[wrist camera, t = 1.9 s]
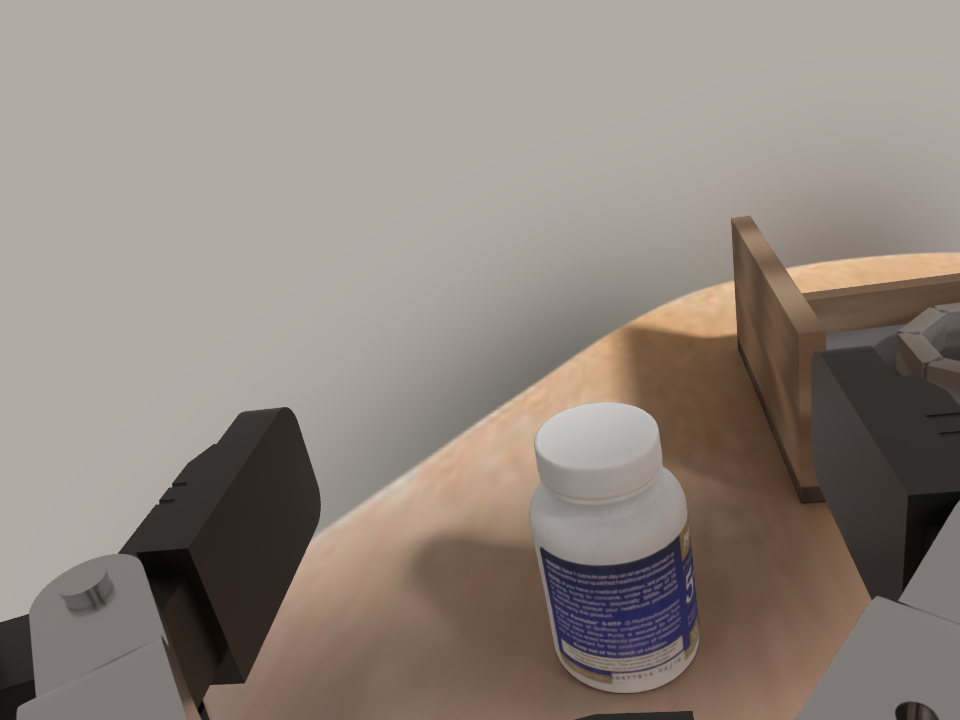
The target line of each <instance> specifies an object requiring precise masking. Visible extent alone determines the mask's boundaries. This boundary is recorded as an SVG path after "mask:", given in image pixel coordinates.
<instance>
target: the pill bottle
mask: <svg viewBox="0 0 960 720" xmlns="http://www.w3.org/2000/svg"><path fill="white" fill-rule="evenodd" d="M534 446H535V453H536V460H537V467H538V472H539V475H540V478H541V483H540V484H539V486H538V487H537V489H536V490H535V492H534V494H533V497H532V499H531V503H530V510H529V518H530V525H531V530H532V535H533V540H534V545H535V549H536V554H537V559H538V564H539V568H540V573H541V578H542V582H543V588H544V593H545V598H546V603H547V608H548V613H549V619H550V625H551V630H552V635H553V641H554V646H555V650H556V653H557V655H558V658H559V659H560V661H561V663H562V664H563V666H564V667H565V668H566V669H567V670H568V672H570V673H571V674H572V675H573V676H574V677H575V678H577V679H578V680H580V681H581V682H583V683H585V684H587V685H589V686H591V687H594V688H596V689H599V690H603V691H608V692H614V693H637V692H643V691H647V690H651V689H654V688H657V687H660V686H662V685H664V684H666V683H668V682H670V681H672V680H673V679H675V678H676V677H677V676H679V675H680V674H681V673H682V672H683V671H684V670H685V669H686V668H687V667H688V665H689V664H690V663H691V661H692V660H693V658H694V656H695V654H696V651H697V648H698V644H699V623H698V611H697V601H696V591H695V581H694V568H693V558H692V548H691V538H690V529H689V519H688V509H687V503H686V498H685V494H684V491H683V489H682V487H681V485H680V483H679V481H678V480H677V479H676V478H675V476H674V475H673V474H672V473H671V472H670V471H669V470H667V469H666V468H665V467H663V466H662V465H663V463H662V450H661V443H660V436H659V430H658V426H657V423H656V421H655V420H654V418H653V417H652V416H651V415H650V414H648V413H647V412H645V411H644V410H642V409H640V408H638V407H635V406H631V405H627V404H622V403H614V402H600V403H591V404H585V405H580V406H576V407H573V408H570V409H567V410H565V411H562V412H560V413H558V414H557V415H555V416H553V417H551V418H550V419H548V420H547V421H546V422H545V423H544V424H543V425H542V426H541V427H540V429H539V430H538V432H537V433H536V436H535V442H534Z"/></svg>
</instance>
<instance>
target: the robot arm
mask: <svg viewBox="0 0 960 720" xmlns="http://www.w3.org/2000/svg"><path fill="white" fill-rule="evenodd" d="M811 447H812V458H813V464H814V470H815V474H816V478H817V481H818V484H819V487H820V489H821V491H822V493H823V495H824V498H825V500H826V502H827V504H828V506H829V508H830V511H831V513H832V515H833V517H834V519H835V521H836V524H837V526H838V528H839V530H840V532H841V534H842V537H843V539H844V541H845V543H846V545H847V547H848V549H849V552H850V554H851V556H852V558H853V560H854V562H855V565H856V567H857V569H858V571H859V573H860V575H861V578H862V580H863V582H864V584H865V586H866V588H867V591H868V593H869V595H870V597H871V599H872V601H871V602H870V603H869V605H868V606H867V608H866V609H865V611H864V612H863V614H862V615H861V617H860V618H859V620H858V622H857V623H856V625H855V626H854V628H853V629H852V631H851V633H850V634H849V636H848V637H847V639H846V640H845V642H844V644H843V645H842V647H841V648H840V650H839V651H838V653H837V655H836V656H835V658H834V659H833V661H832V662H831V664H830V666H829V667H828V669H827V670H826V672H825V673H824V675H823V677H822V678H821V680H820V681H819V683H818V684H817V686H816V688H815V689H814V691H813V692H812V694H811V695H810V697H809V698H808V700H807V702H806V703H805V705H804V706H803V708H802V709H801V711H800V713H799V714H798V716H797V717H796V719H795V720H960V405H959V404H958V403H957V402H956V400H955V399H954V398H953V397H952V396H951V395H950V393H949V392H948V391H946V390H945V389H943V388H941V387H939V386H937V385H935V384H933V383H931V382H929V381H927V380H925V379H923V378H921V377H919V376H917V375H907V376H897V377H896V376H895V375H894V374H893V373H892V371H891V370H890V369H889V367H888V366H887V365H886V363H885V362H884V361H883V360H882V358H881V357H880V356H879V354H878V353H877V352H876V350H875V349H874V348H873V347H872V346H870V345H867V346H857V347H848V348H839V349H829V350H820V351H815V352H814V354H813V356H812V363H811ZM172 485H173V486H172V488H168V490H167V491H166V492H165V494H164V495H163V496H162V498H161V499H160V500H159V505H155V507H154V508H153V509H152V510H151V512H150V513H149V514H148V515H147V517H146V518H145V519H144V521H143V522H142V523H141V524H140V526H139V527H138V528H137V530H136V531H135V532H134V534H133V535H132V536H131V537H130V539H129V540H128V541H127V542H126V544H125V545H124V546H123V548H122V549H121V550H120V551H119V553H118V554H113V555H107V556H102V557H98V558H95V559H91V560H89V561H86V562H84V563H81V564H79V565H77V566H75V567H73V568H72V569H70V570H68V571H66V572H64V573H63V574H62V575H60V576H59V577H57V578H56V579H54V580H53V581H52V582H51V583H49V584H48V585H47V586H46V587H45V588H44V589H43V590H42V591H41V592H40V594H39V595H38V596H37V597H36V599H35V600H34V602H33V604H32V606H31V608H30V613H29V614H27V615H24V616H21V617H17V618H14V619H10V620H7V621H4V622H0V720H212V717H211V715H210V712H209V710H208V708H207V706H206V703H205V701H204V699H203V698H204V696H205V694H206V692H207V690H208V688H209V686H210V685H219V684H242V683H245V682H246V679H247V677H248V675H249V673H250V671H251V669H252V666H253V664H254V662H255V660H256V658H257V656H258V653H259V651H260V649H261V647H262V645H263V643H264V640H265V638H266V636H267V634H268V632H269V630H270V627H271V625H272V623H273V621H274V619H275V617H276V614H277V612H278V610H279V608H280V606H281V604H282V601H283V599H284V597H285V595H286V593H287V591H288V588H289V586H290V584H291V582H292V580H293V577H294V575H295V573H296V571H297V569H298V567H299V564H300V562H301V560H302V558H303V556H304V554H305V551H306V549H307V547H308V545H309V543H310V541H311V538H312V536H313V534H314V532H315V530H316V527H317V525H318V522H319V518H320V510H321V508H320V507H321V502H320V492H319V487H318V484H317V481H316V478H315V474H314V471H313V468H312V465H311V462H310V459H309V455H308V452H307V449H306V446H305V443H304V440H303V437H302V433H301V430H300V427H299V424H298V421H297V418H296V417H295V414H294V413H293V412H292V410H291V409H289V408H287V407H282V408H274V409H264V410H255V411H245V412H242V413H240V414H239V415H238V416H237V418H236V419H235V420H234V422H233V423H232V424H231V426H230V427H229V428H228V430H227V431H226V432H225V434H224V435H223V436H222V438H221V439H220V440H219V442H218V443H217V444H213V445H212V446H211V447H209V448H208V449H207V450H205V451H204V452H203V453H201V454H200V455H198V456H197V457H196V458H195V459H193V460H192V461H190V462H189V463H188V464H187V465H186V466H185V468H184V469H183V470H182V472H181V473H180V474H179V475H178V477H177V478H176V479H175V481H174V482H173V483H172ZM576 720H694V718H693V711H681V712H651V713H622V714H595V715H591V716H587V717H583V718H579V719H576Z"/></svg>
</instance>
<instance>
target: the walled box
mask: <svg viewBox="0 0 960 720" xmlns="http://www.w3.org/2000/svg"><path fill="white" fill-rule="evenodd" d="M731 225H732V244H733V262H734V281H735V299H736V318H737V336H738V349H739V352H740V354H741V357H742V359H743V361H744V364H745V366H746V369H747V371H748V374H749V376H750V379H751V381H752V383H753V386H754V388H755V391H756V393H757V396H758V398H759V401H760V403H761V405H762V408H763V410H764V413H765V415H766V418H767V420H768V423H769V425H770V427H771V430H772V432H773V435H774V437H775V440H776V442H777V445H778V447H779V449H780V452H781V454H782V457H783V459H784V462H785V464H786V467H787V469H788V471H789V474H790V476H791V479H792V481H793V484H794V486H795V488H796V491H797V493H798V496H799V498H800V501H801V503H807V502H819V501H826V500H825V498H824V495H823V493H822V491H821V489H820V487H819V484H818V481H817V478H816V474H815V470H814V464H813V458H812V447H811V363H812V356H813V354H814V352H815V351H820V350H829V349H839V348H848V347H857V346H867V345H870V346H872V347H873V348H874V349H875V350H876V352H877V353H878V354H879V356H880V357H881V358H882V360H883V361H884V362H885V363H886V365H887V366H888V367H889V369H890V370H891V371H892V373H893V374H894V375H895V376H896V377H897V376H907V375H917V376H919V377H921V378H923V379H925V380H927V381H929V382H931V383H933V384H935V385H937V386H939V387H941V388H943V389H945V390H946V391H948V392H949V393H950V395H951V396H952V397H953V398H954V399H955V400H956V402H957V403H958V404H959V405H960V273H958V274H950V275H943V276H935V277H927V278H919V279H911V280H904V281H896V282H888V283H880V284H872V285H864V286H857V287H849V288H841V289H833V290H825V291H818V292H810V293H801V292H800V290H799V289H798V287H797V286H796V284H795V283H794V281H793V280H792V278H791V277H790V275H789V274H788V272H787V271H786V269H785V268H784V266H783V265H782V263H781V262H780V260H779V259H778V257H777V256H776V254H775V253H774V251H773V250H772V248H771V247H770V245H769V244H768V242H767V241H766V239H765V238H764V236H763V235H762V233H761V232H760V230H759V229H758V227H757V226H756V224H755V223H754V221H753V219H752V218H751V217H750V216H745V217H738V218H731Z"/></svg>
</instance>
